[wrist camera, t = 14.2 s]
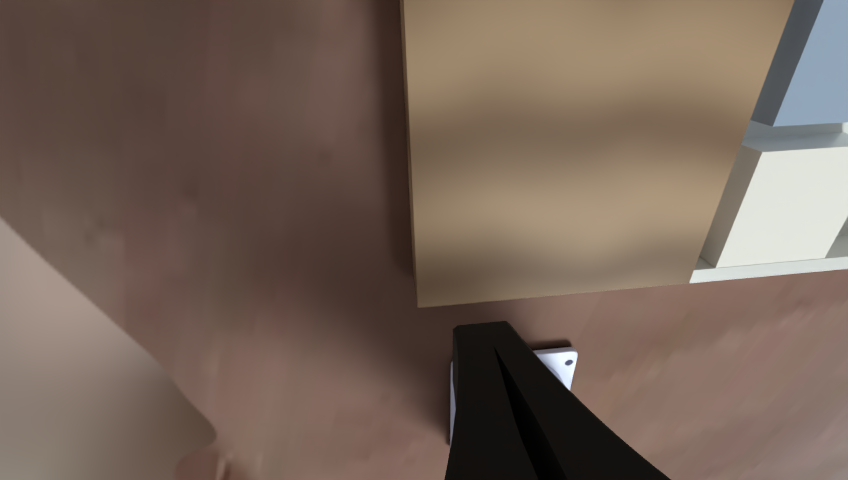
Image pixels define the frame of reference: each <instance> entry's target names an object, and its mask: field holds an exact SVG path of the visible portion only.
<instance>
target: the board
mask: <svg viewBox="0 0 848 480" xmlns="http://www.w3.org/2000/svg"><path fill="white" fill-rule="evenodd" d="M794 1H795V0H400V16H401V36H402V56H403V76H404V96H405V116H406V136H407V156H408V175H409V195H410V215H411V235H412V255H413V275H414V285H415V292H416V298H417V305H418V308H424V307H435V306H446V305H457V304H468V303H479V302H489V301H500V300H511V299H522V298H533V297H544V296H555V295H566V294H577V293H588V292H599V291H610V290H620V289H631V288H642V287H653V286H664V285H675V284H686V283H689V282H690V279H691V277H692V274H693V271H694V269H695V266H696V263H697V261H698V258H699V255H700V253H701V250H702V247H703V245H704V242H705V239H706V237H707V234H708V231H709V229H710V226H711V223H712V221H713V218H714V215H715V212H716V210H717V207H718V204H719V202H720V199H721V196H722V194H723V191H724V188H725V186H726V183H727V180H728V178H729V175H730V172H731V170H732V167H733V164H734V162H735V159H736V156H737V154H738V151H739V148H740V145H741V143H742V140H743V137H744V135H745V132H746V129H747V127H748V124H749V121H750V119H751V116H752V113H753V111H754V108H755V105H756V103H757V100H758V97H759V95H760V92H761V89H762V87H763V84H764V81H765V78H766V76H767V73H768V70H769V68H770V65H771V62H772V60H773V57H774V54H775V52H776V49H777V46H778V44H779V41H780V38H781V36H782V33H783V30H784V28H785V25H786V22H787V20H788V17H789V14H790V12H791V9H792V6H793V3H794Z"/></svg>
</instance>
